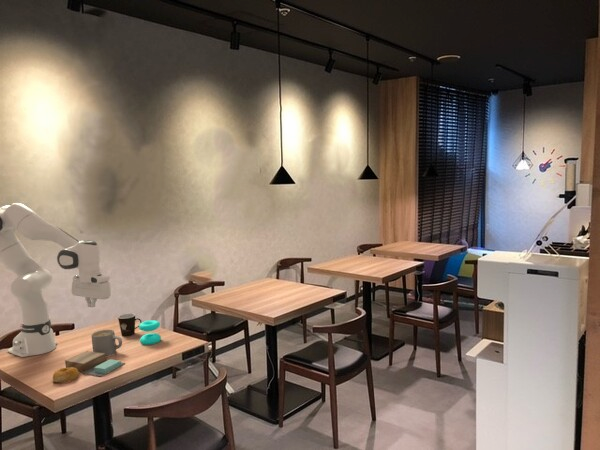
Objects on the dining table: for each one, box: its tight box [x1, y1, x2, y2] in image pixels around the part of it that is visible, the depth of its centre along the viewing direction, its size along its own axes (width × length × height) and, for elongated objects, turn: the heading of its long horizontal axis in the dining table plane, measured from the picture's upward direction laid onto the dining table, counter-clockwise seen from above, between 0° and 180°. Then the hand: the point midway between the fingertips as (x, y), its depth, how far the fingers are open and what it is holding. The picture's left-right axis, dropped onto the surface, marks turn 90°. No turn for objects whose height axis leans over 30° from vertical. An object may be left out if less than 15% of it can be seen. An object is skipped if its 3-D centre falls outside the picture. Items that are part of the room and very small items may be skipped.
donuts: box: [138, 319, 162, 346], centre depth 236 cm, size 10×10×10 cm
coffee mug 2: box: [117, 313, 143, 338], centre depth 248 cm, size 12×9×10 cm
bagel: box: [52, 367, 80, 384], centre depth 197 cm, size 10×11×5 cm
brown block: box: [64, 350, 107, 373], centre depth 209 cm, size 11×12×4 cm
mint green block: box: [94, 359, 122, 375], centre depth 204 cm, size 6×9×2 cm, turn 157°
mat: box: [82, 362, 126, 378], centre depth 206 cm, size 10×14×1 cm
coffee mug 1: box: [91, 329, 123, 358], centre depth 222 cm, size 13×10×10 cm
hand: (91, 306), depth 214 cm, fingers closed
